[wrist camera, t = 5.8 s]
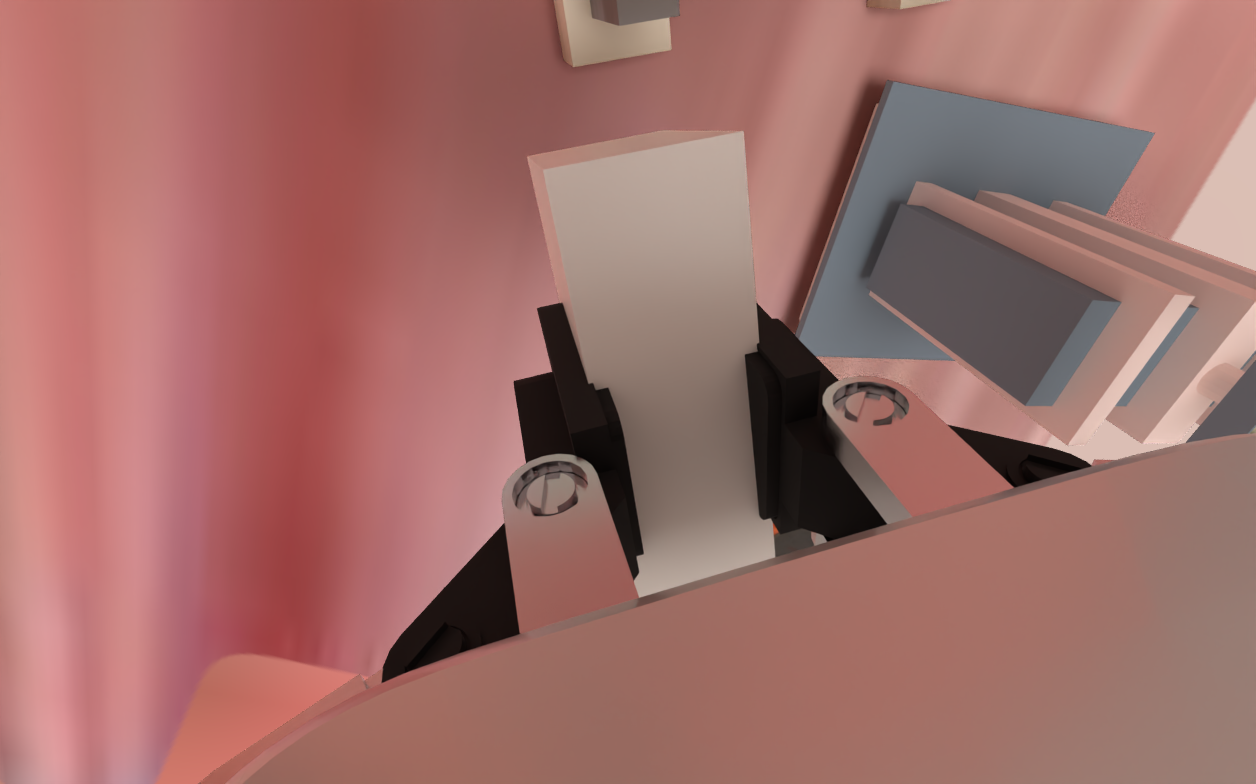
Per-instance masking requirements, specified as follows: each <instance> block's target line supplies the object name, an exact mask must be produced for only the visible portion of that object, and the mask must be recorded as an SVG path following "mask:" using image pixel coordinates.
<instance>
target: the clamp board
mask: <svg viewBox="0 0 1256 784" xmlns="http://www.w3.org/2000/svg"><path fill="white" fill-rule="evenodd" d="M944 1H949V0H867V7H876V8H890V9H904V8H910V7H915V6H921V5H927V4H932V3H938V2H944ZM554 6H555V12H556V18H557V24H558V30H559V36H560V42H561V48H562V54H563V60H564V61H565V62H567V63H568V64H569V65H571V66H572V67H578V66H584V65H589V64H595V63H601V62H606V61H612V60H618V59H623V58H629V57H634V56H640V55H646V54H651V53H657V52H663V51H668V50H672V49H671V35H670V21H669V17H675V16H680V11H679V0H554Z"/></svg>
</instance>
